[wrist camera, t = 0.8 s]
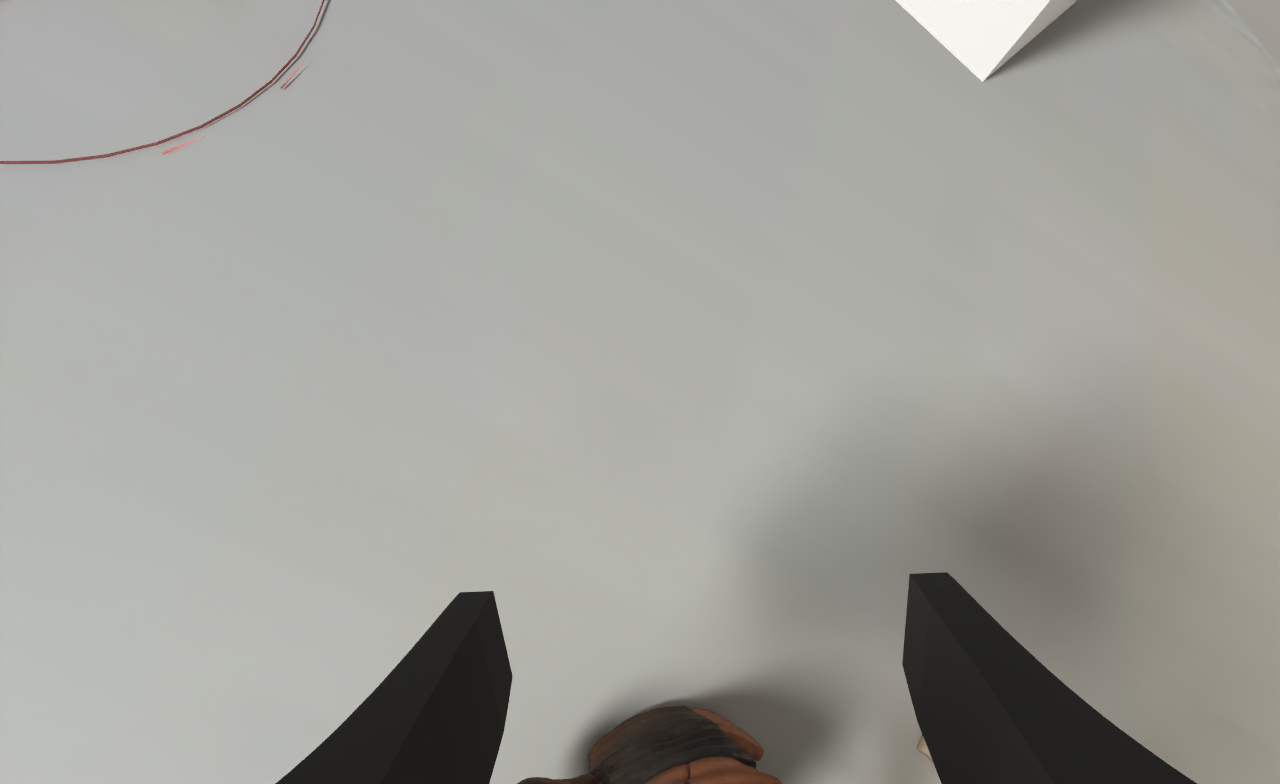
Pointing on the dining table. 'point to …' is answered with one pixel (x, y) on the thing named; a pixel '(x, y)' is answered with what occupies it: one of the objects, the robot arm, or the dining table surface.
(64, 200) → the dining table surface
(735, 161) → the dining table surface
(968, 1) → the milk
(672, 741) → the brown piece
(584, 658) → the dining table surface
